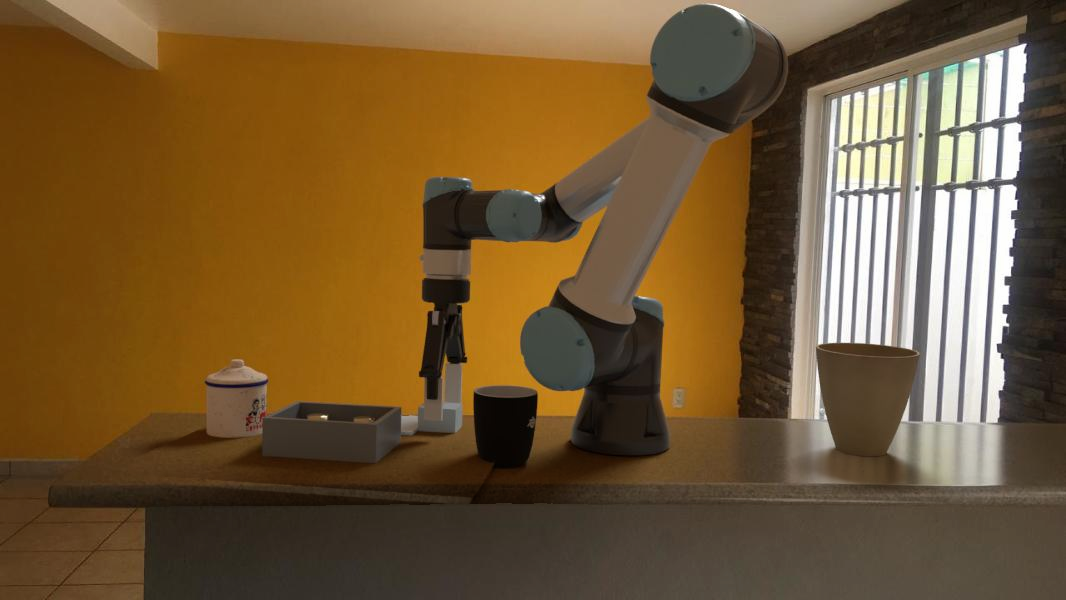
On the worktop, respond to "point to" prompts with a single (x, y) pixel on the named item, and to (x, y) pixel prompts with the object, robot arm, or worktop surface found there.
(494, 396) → the mug
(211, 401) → the teacup with lid
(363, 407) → the tub
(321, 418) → the part
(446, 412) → the lid
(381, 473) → the worktop surface
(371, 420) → the part
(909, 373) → the plant pot
